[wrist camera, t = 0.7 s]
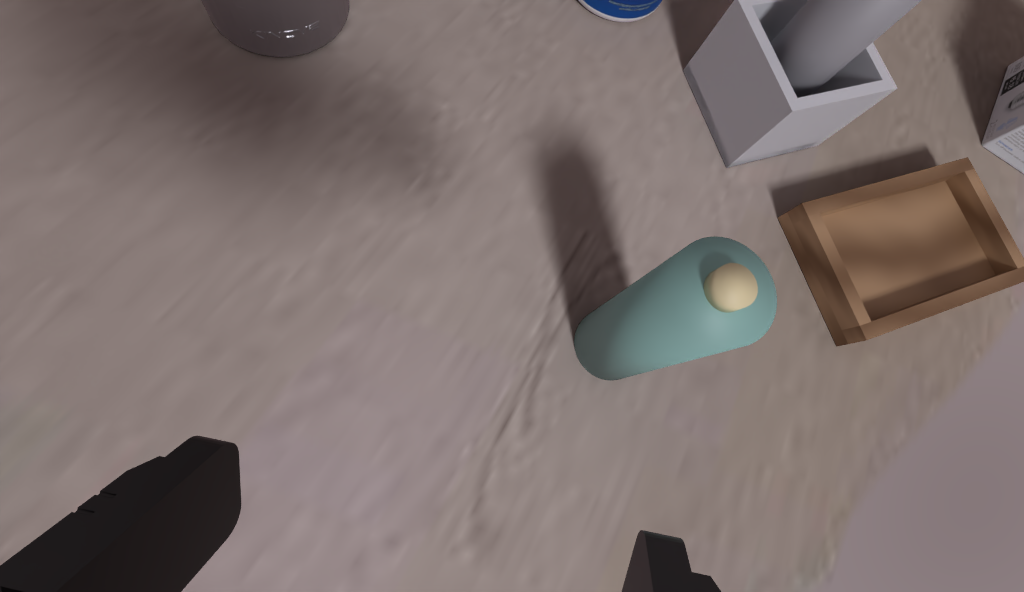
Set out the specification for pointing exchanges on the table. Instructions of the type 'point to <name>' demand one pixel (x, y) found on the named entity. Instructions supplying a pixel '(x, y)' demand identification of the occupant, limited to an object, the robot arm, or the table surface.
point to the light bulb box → (1008, 119)
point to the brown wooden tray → (902, 250)
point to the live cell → (680, 312)
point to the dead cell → (831, 37)
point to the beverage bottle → (621, 9)
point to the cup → (773, 87)
